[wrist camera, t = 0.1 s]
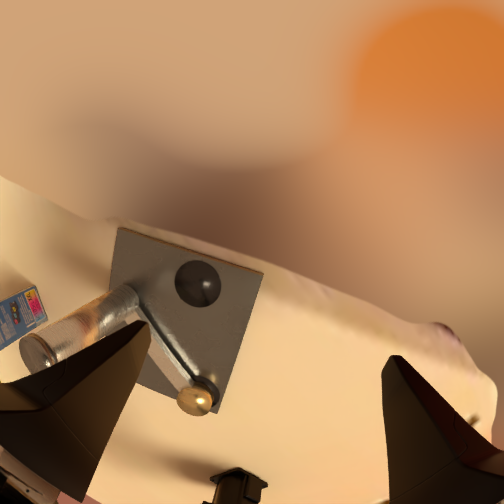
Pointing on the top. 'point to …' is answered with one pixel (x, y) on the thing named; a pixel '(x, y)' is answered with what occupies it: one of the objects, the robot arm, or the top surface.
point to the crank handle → (98, 325)
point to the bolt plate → (187, 308)
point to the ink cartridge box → (20, 315)
